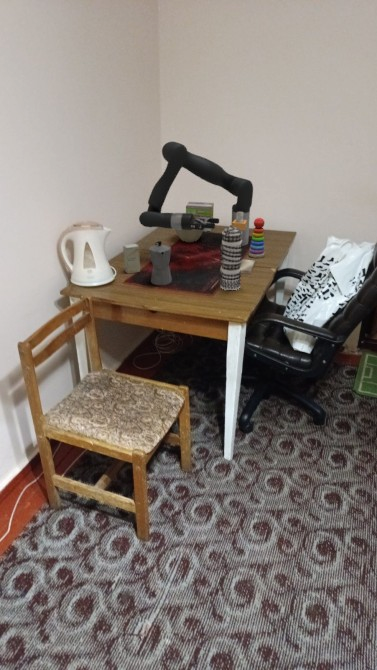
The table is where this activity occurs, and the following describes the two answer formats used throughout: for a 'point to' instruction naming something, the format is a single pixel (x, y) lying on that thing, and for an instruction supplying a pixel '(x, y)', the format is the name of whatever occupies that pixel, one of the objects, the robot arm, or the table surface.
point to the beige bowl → (189, 233)
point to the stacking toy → (257, 239)
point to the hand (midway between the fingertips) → (216, 223)
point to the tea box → (200, 209)
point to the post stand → (244, 264)
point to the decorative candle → (231, 258)
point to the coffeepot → (160, 264)
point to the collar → (240, 225)
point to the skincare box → (131, 258)
